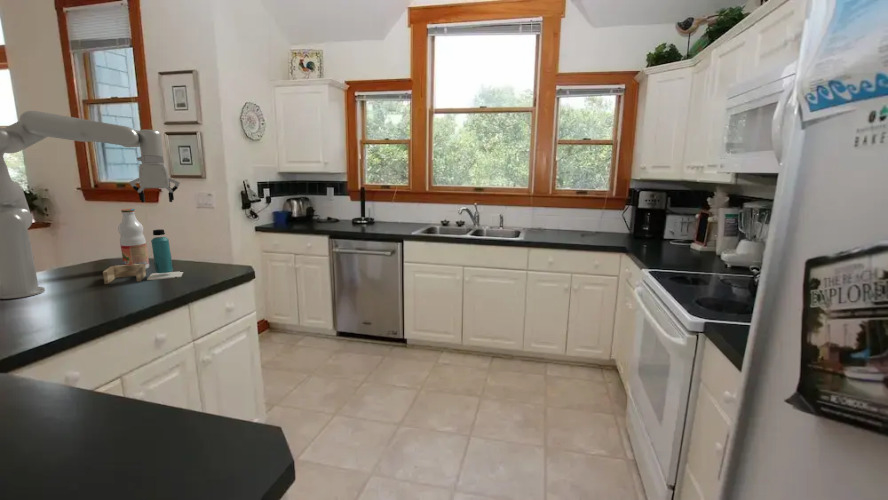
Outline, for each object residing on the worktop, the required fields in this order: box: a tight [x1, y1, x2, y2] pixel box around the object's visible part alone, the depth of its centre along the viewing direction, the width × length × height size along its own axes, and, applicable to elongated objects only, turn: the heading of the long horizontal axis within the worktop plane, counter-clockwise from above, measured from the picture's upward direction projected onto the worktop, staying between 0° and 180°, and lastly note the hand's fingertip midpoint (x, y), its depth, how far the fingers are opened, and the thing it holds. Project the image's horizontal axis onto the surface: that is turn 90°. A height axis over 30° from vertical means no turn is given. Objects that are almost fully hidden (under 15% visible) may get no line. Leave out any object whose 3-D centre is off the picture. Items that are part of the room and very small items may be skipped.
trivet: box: [146, 271, 184, 281], centre depth 176 cm, size 12×10×1 cm
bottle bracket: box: [102, 264, 147, 285], centre depth 169 cm, size 12×12×5 cm
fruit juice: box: [118, 208, 150, 269], centre depth 184 cm, size 9×9×28 cm
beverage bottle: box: [151, 229, 174, 273], centre depth 174 cm, size 6×7×20 cm
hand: (157, 202), depth 170 cm, fingers open, 9 cm apart
